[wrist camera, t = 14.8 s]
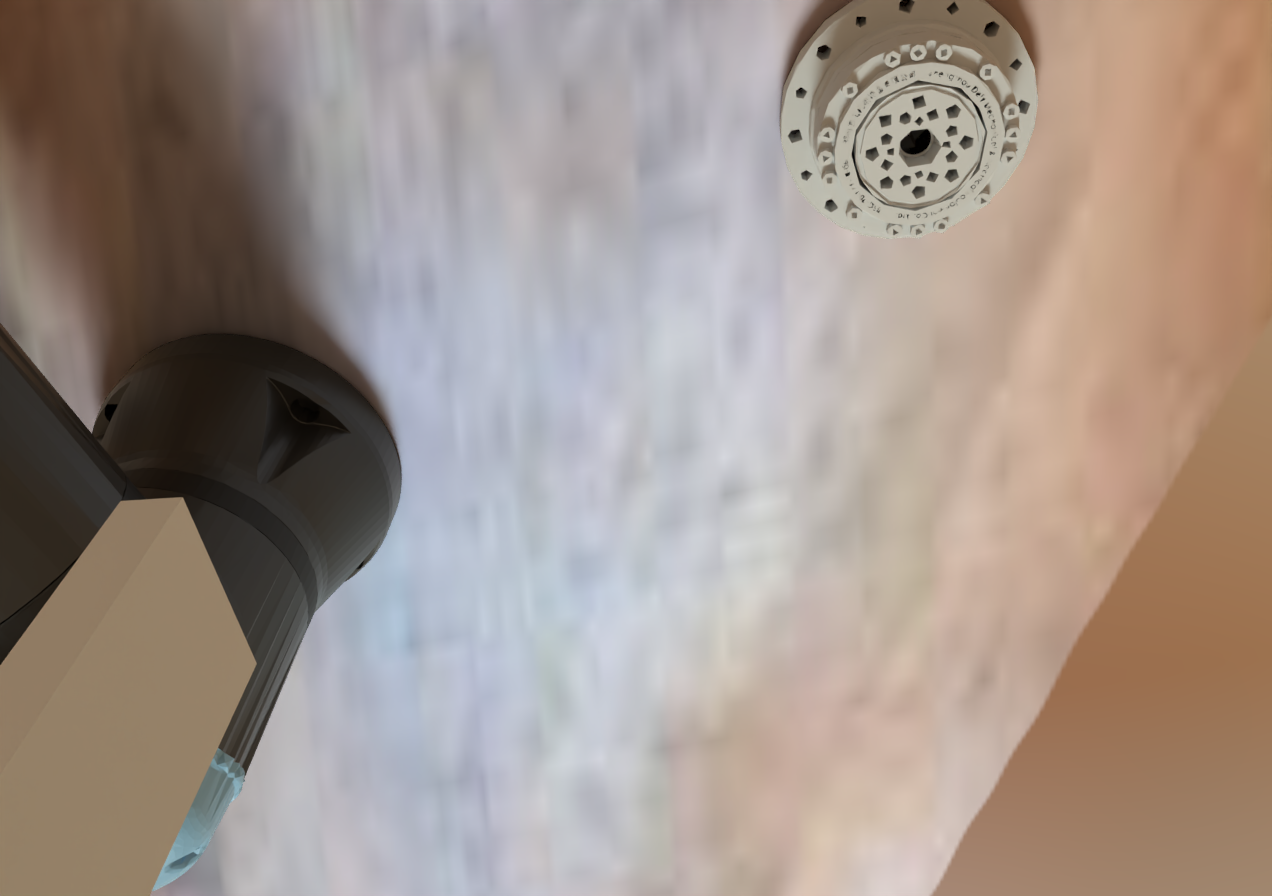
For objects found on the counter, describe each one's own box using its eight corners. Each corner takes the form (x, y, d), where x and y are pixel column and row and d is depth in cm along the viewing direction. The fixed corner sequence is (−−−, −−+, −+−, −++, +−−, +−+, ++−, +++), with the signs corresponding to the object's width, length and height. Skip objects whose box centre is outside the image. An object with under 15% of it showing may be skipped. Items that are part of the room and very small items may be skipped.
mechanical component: (1037, -40, 39) (769, -1, 41) (1069, -13, 36) (774, 28, 37) (1022, 210, 45) (787, 237, 46) (1048, 255, 41) (793, 282, 43)
